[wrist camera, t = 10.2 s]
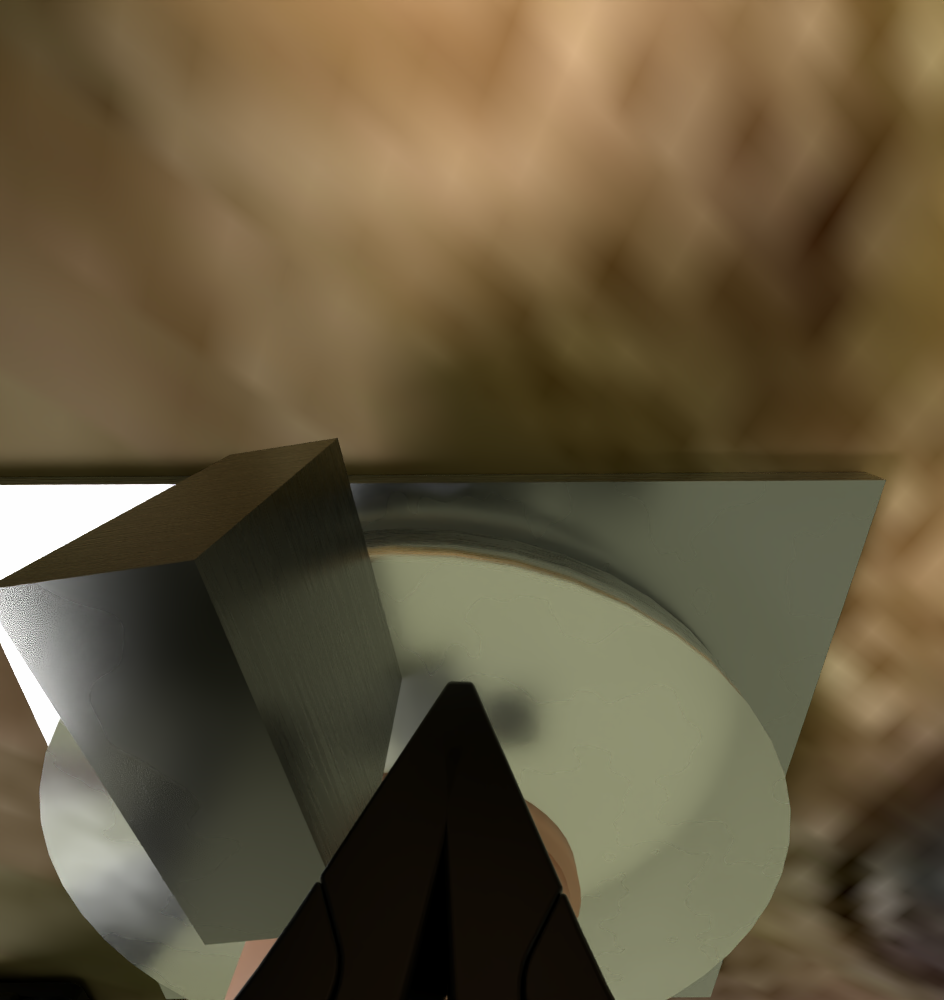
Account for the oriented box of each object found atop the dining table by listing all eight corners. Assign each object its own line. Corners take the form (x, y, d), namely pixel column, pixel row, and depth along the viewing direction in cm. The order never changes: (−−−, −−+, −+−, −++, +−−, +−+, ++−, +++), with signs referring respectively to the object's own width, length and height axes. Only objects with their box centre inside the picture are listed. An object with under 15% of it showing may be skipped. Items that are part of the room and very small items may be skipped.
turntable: (736, 971, 17) (868, 1291, 11) (228, 1014, 18) (118, 1325, 13) (795, 351, 9) (1333, 395, 3) (-118, 495, 10) (-858, 711, 5)
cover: (588, 952, 14) (623, 1145, 11) (317, 978, 14) (272, 1170, 11) (559, 750, 11) (597, 933, 8) (218, 793, 11) (116, 982, 8)
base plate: (703, 977, 19) (710, 997, 18) (174, 979, 19) (166, 998, 18) (864, 471, 11) (886, 479, 10) (-45, 477, 11) (-73, 486, 10)
